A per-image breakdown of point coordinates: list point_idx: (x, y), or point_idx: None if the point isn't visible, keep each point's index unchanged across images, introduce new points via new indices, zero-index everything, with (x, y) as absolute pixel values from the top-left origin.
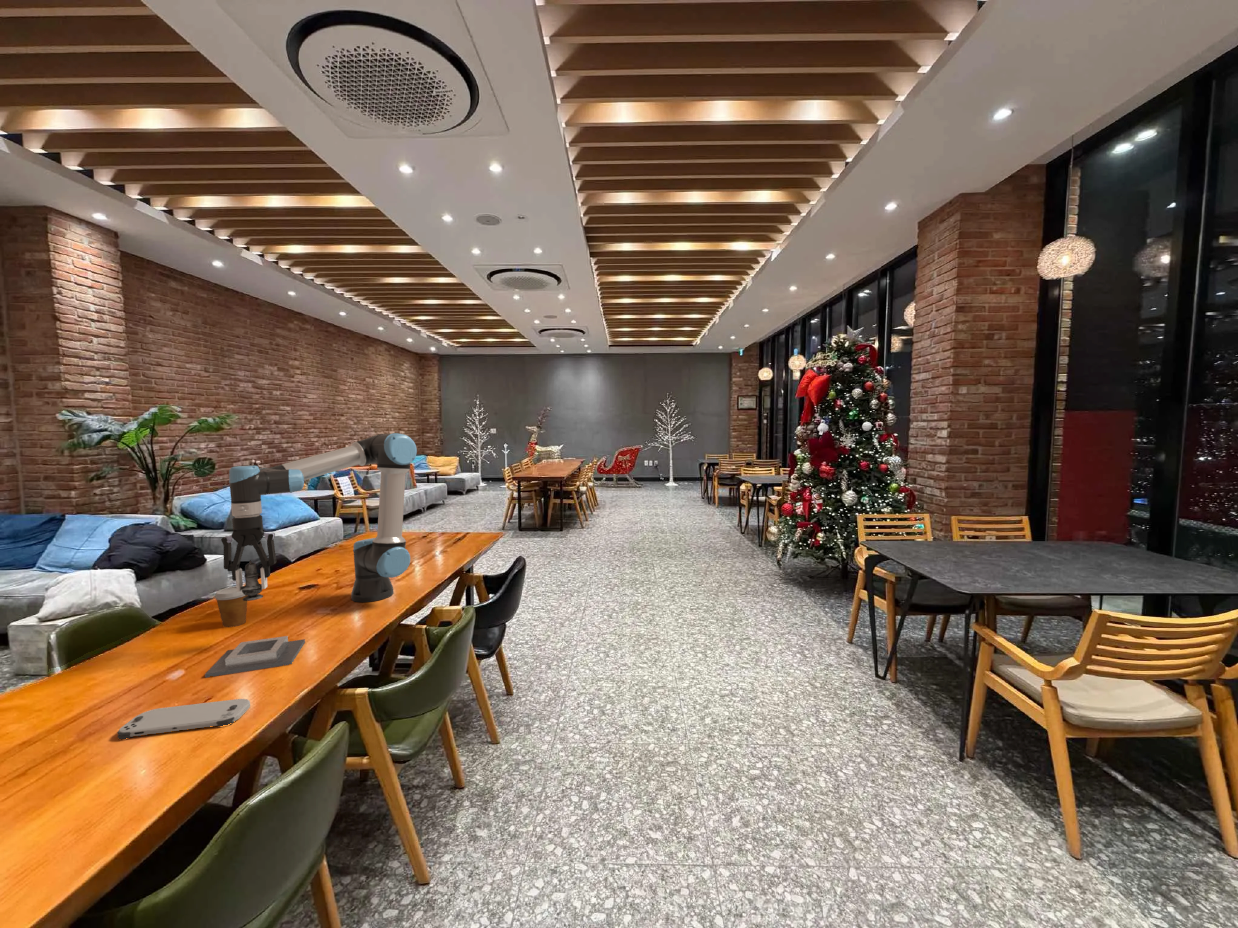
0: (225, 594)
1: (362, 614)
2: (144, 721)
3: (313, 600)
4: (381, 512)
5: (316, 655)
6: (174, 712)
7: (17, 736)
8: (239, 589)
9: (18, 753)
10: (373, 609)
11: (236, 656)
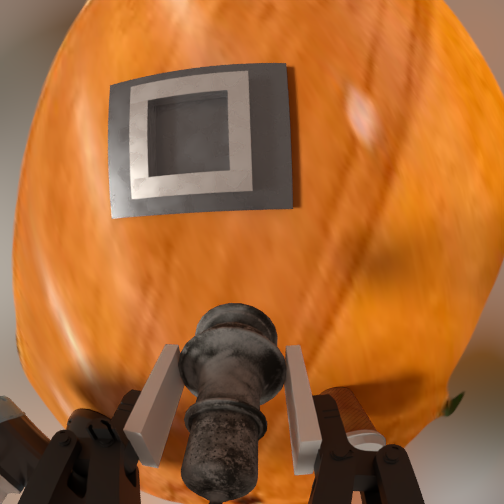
0: (363, 441)
1: (69, 350)
2: None
3: None
4: None
5: (77, 125)
6: None
7: (450, 13)
8: (288, 352)
9: None
10: (63, 368)
11: (223, 80)
